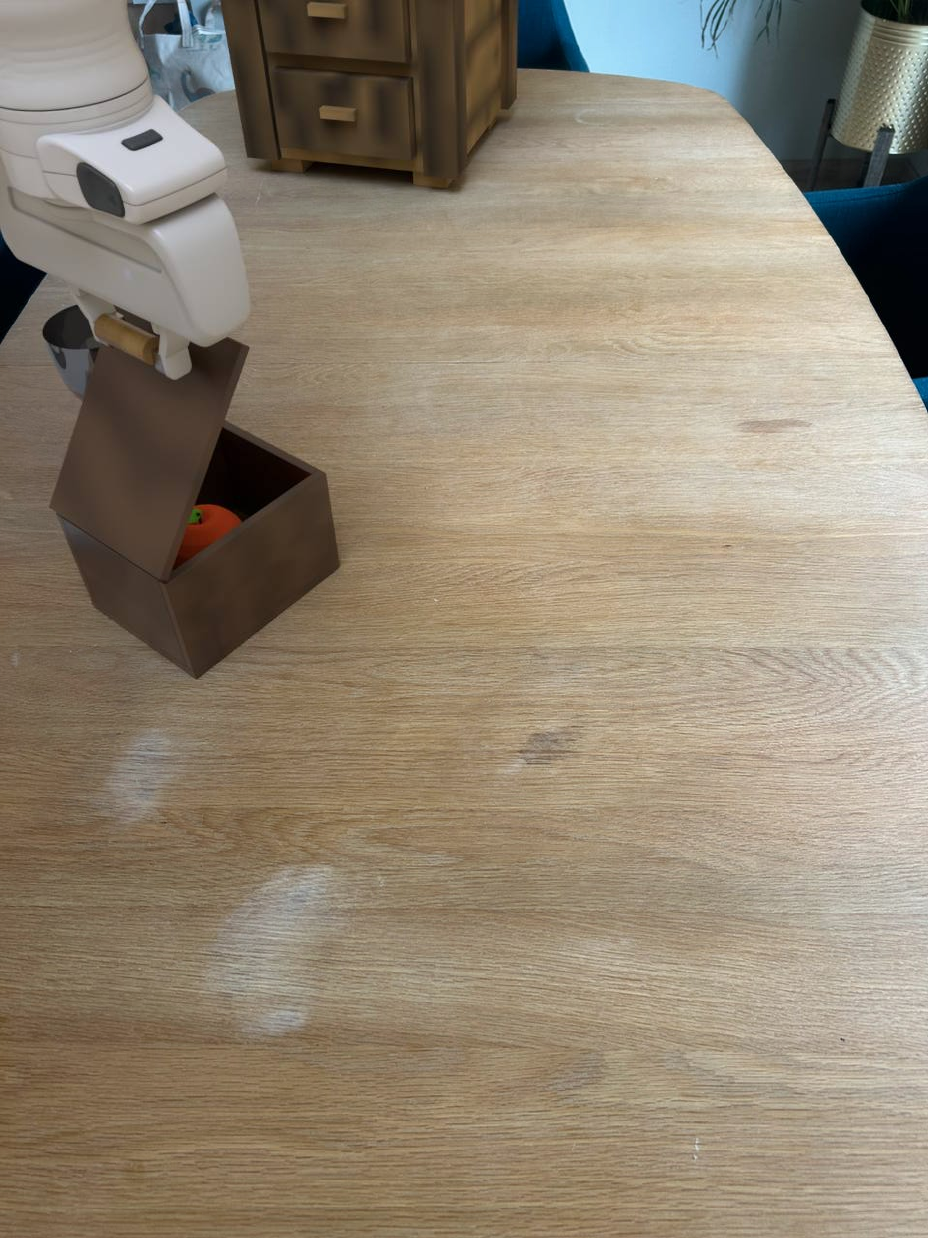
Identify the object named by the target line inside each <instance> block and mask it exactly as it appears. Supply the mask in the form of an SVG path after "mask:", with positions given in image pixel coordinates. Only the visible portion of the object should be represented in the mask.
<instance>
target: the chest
mask: <svg viewBox="0 0 928 1238" xmlns="http://www.w3.org/2000/svg"><path fill="white" fill-rule="evenodd" d="M206 504H210V505H217V506H220V507H223V508H225V509H227V510H229V511H231V512H232V513H234V514H235V515H237V516H238V518H239V519H240V520H241V521H242V523H241V524H240V525H238V526H237V527H235V528H234V529H232V530H231V531H230V532H228V533H227V534H225V535H224V536H222V537H221V538H219V539H218V540H217V541H215V542H214V543H212V544H211V545H209V546H208V547H207V548H205V549H204V550H202V551H201V552H199V553H198V554H196V555H195V556H194V557H192V558H191V559H189V560H188V561H186V562H185V563H184V564H182V565H181V566H179V567H178V568H176V569H175V570H173V571H172V572H171V574H170V577H169V580H168V581H164V580H158V579H157V578H155V577H154V576H152V575H151V574H149V573H148V572H146V571H145V570H143V569H142V568H140V567H139V566H137V565H136V564H134V563H133V562H131V561H130V560H128V559H127V558H125V557H123V556H122V555H120V554H119V553H117V552H116V551H114V550H113V549H111V548H110V547H108V546H107V545H105V544H104V543H102V542H101V541H99V540H98V539H96V538H95V537H93V536H92V535H90V534H88V533H87V532H85V531H84V530H82V529H81V528H79V527H78V526H76V525H75V524H73V523H72V522H70V521H69V520H67V519H66V518H64V517H63V516H61V515H60V514H58V513H57V512H55V515H56V518H57V520H58V522H59V525H60V528H61V530H62V532H63V535H64V537H65V539H66V542H67V545H68V547H69V549H70V552H71V554H72V557H73V560H74V562H75V564H76V566H77V569H78V572H79V574H80V577H81V580H82V582H83V584H84V586H85V588H86V592H87V593H88V596H89V599H90V601H91V603H92V605H93V607H94V608H95V609H97V611H99V612H100V613H102V614H104V615H105V616H106V617H108V618H109V619H111V620H112V621H113V622H114V623H116V624H118V625H119V626H121V627H122V628H124V629H125V630H126V631H127V632H129V633H130V634H132V635H133V636H134V637H136V638H137V639H139V640H140V641H141V642H143V643H144V644H146V645H147V646H148V647H150V648H151V649H153V650H154V651H156V652H157V653H159V654H160V655H161V656H163V658H166V659H167V660H168V661H170V662H171V663H173V664H174V665H176V666H177V667H178V668H180V669H181V670H183V671H184V672H185V673H187V674H188V675H190V676H191V677H192V678H194V679H195V680H197V679H199V678H200V677H201V676H202V675H204V674H205V673H206V672H208V671H209V670H210V669H211V668H213V667H214V666H216V664H218V663H219V662H221V661H222V660H223V659H224V658H225V657H227V656H228V655H230V653H232V652H233V651H234V650H236V649H237V648H239V646H241V645H243V644H244V643H245V642H246V641H247V640H248V639H250V638H251V637H252V636H254V635H255V634H256V633H258V632H259V631H260V630H261V629H263V628H264V627H266V625H268V624H269V623H270V622H272V620H274V619H275V618H276V617H278V616H279V615H281V614H282V613H283V612H285V610H287V609H288V608H289V607H290V606H292V605H293V604H295V603H296V602H297V601H298V600H300V599H301V598H302V597H303V596H305V595H306V594H307V593H308V592H310V591H312V589H314V588H315V587H316V586H318V585H319V584H320V583H322V581H324V580H325V579H327V578H328V577H329V576H330V575H331V574H333V573H334V572H335V571H337V570H338V569H339V568H340V567H341V563H340V557H339V556H340V555H339V550H338V543H337V537H336V530H335V525H334V523H335V522H334V517H333V510H332V504H331V495H330V489H329V482H328V477H327V472H325V471H323V470H321V469H320V468H317V467H316V466H313V465H312V464H310V463H308V462H306V461H304V460H303V459H300V458H298V457H297V456H294V455H293V454H290V453H289V452H288V451H285V450H283V449H282V448H280V447H277V446H275V445H273V444H271V443H270V442H268V441H265V440H264V439H262V438H260V437H258V436H256V435H254V434H252V433H250V432H249V431H247V430H245V429H243V428H241V427H239V426H237V425H236V424H234V423H232V422H230V421H228V420H226V419H225V420H224V423H223V426H222V429H221V432H220V435H219V437H218V440H217V443H216V446H215V449H214V452H213V454H212V457H211V460H210V463H209V466H208V469H207V471H206V474H205V477H204V480H203V483H202V486H201V489H200V491H199V494H198V497H197V500H196V503H195V506H197V505H206Z"/></svg>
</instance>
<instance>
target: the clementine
mask: <svg viewBox="0 0 928 1238" xmlns="http://www.w3.org/2000/svg"><path fill="white" fill-rule="evenodd" d="M241 523H242V521H241V520H240V519H239V518H238V516H237V515H235V514H234V513H232V512H231V511H229V510H227V509H225V508H223V507H220V506H217V505H210V504H206V505H197V506H194V508H193V511H192V514H191V517H190V520H189V523H188V525H187V528H186V531H185V534H184V537H183V540H182V543H181V545H180V548H179V551H178V554H177V557H176V560H175V562H174V565H173V568H172V571H173V570H175V569H176V568H178V567H179V566H181V565H182V564H184V563H185V562H186V561H188V560H189V559H191V558H192V557H194V556H195V555H196V554H198V553H199V552H201V551H202V550H204V549H205V548H207V547H208V546H209V545H211V544H212V543H214V542H215V541H217V540H218V539H219V538H221V537H222V536H224V535H225V534H227V533H228V532H230V531H231V530H232V529H234V528H235V527H237V526H238V525H240V524H241ZM172 571H171V572H172Z"/></svg>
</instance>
